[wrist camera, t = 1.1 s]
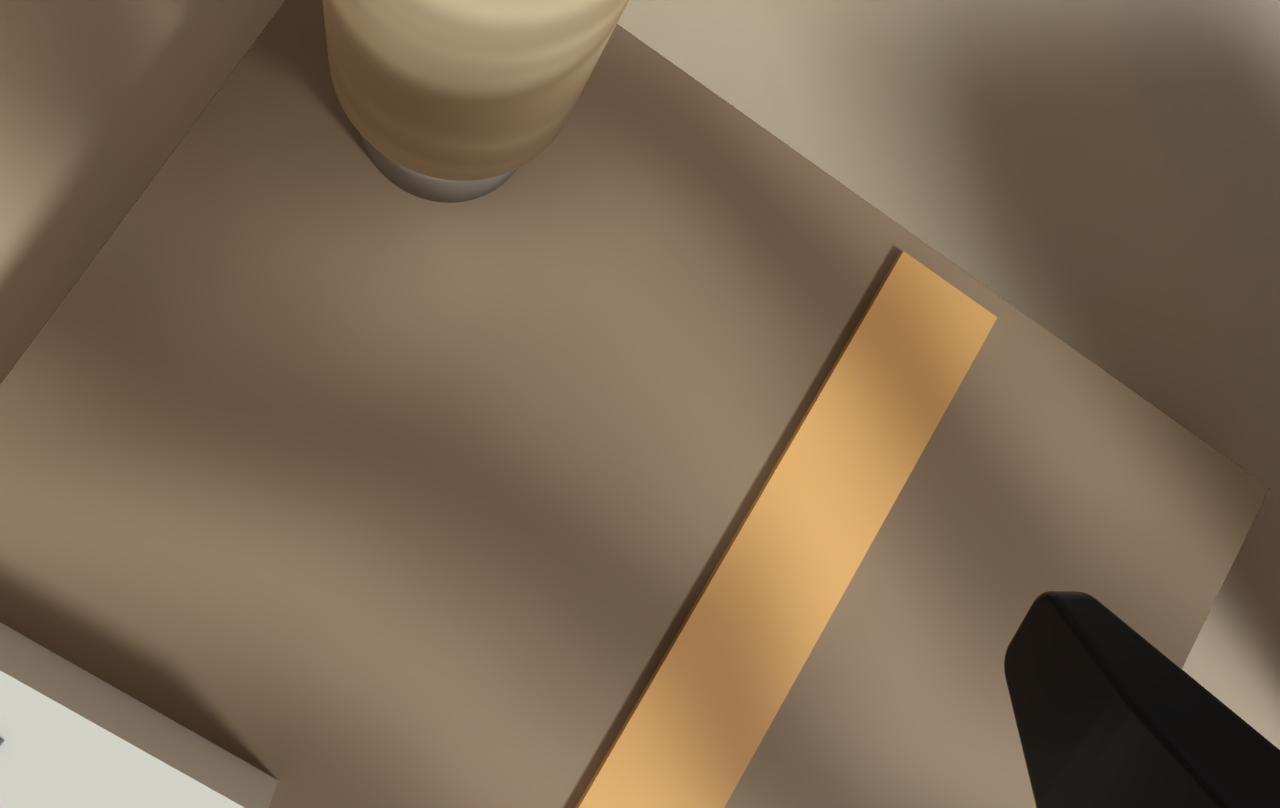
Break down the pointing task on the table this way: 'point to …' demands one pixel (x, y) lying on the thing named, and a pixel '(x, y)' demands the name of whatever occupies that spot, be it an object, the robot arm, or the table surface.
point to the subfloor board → (573, 469)
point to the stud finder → (104, 744)
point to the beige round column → (461, 83)
